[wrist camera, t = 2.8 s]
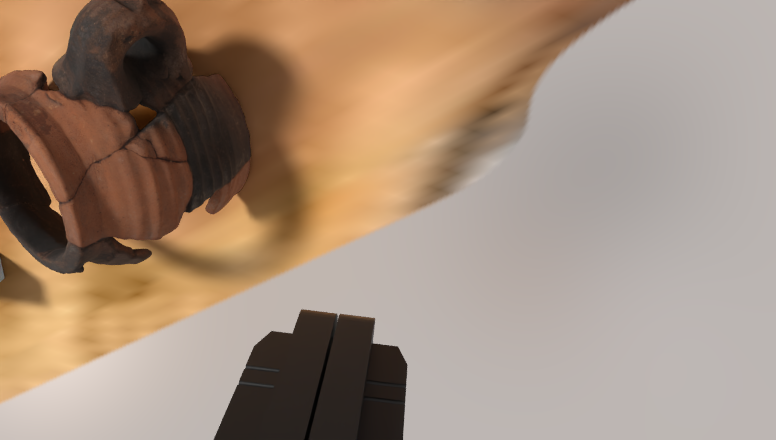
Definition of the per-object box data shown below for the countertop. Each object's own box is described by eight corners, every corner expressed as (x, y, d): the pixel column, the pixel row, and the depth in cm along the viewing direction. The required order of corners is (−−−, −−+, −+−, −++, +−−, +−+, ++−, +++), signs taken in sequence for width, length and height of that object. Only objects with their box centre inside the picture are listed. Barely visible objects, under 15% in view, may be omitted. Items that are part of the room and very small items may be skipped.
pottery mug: (249, 244, 30) (98, 337, 24) (124, 139, 32) (-41, 201, 26) (299, 23, 22) (92, 82, 16) (128, -93, 24) (-105, -79, 18)
